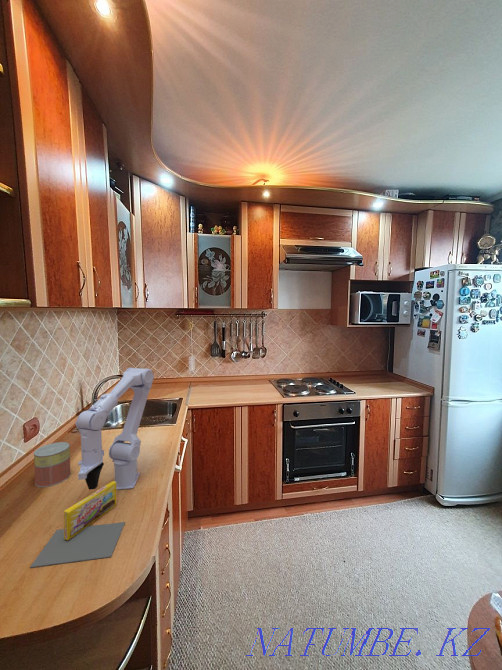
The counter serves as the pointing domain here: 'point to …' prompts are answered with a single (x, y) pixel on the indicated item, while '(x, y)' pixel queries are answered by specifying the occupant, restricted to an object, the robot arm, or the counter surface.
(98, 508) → the candy box
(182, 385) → the counter surface
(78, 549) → the mat
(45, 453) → the canned food
